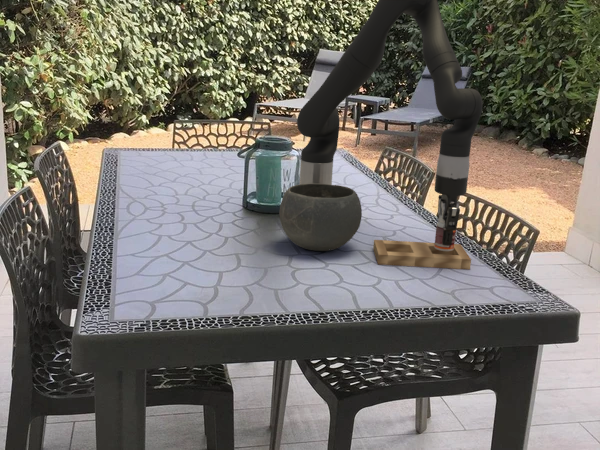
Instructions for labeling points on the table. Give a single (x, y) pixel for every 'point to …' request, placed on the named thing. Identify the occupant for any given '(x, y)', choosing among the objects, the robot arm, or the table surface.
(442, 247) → the pill bottle
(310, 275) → the table surface
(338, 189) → the bowl
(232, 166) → the table surface
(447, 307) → the table surface
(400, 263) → the holder block
